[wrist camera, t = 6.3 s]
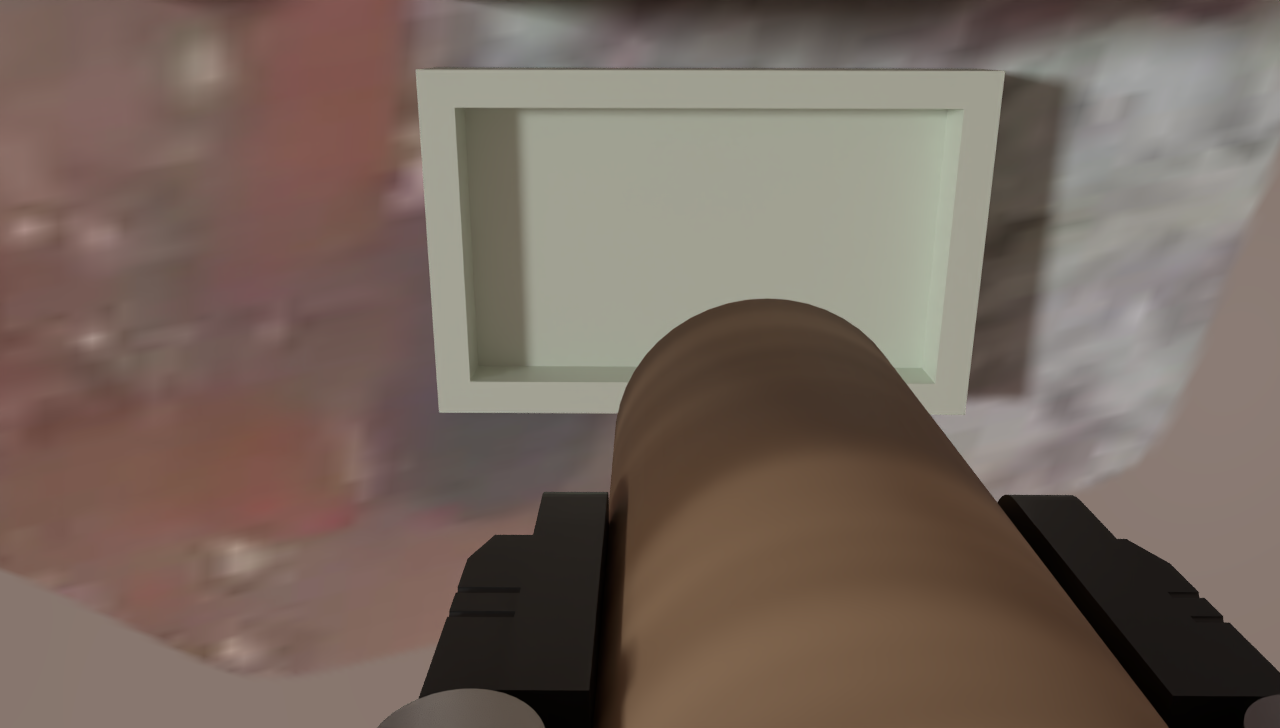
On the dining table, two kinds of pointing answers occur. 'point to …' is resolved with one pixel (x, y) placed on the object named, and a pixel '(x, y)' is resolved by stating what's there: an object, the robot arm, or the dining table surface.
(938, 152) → the sage tray
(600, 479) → the dining table surface
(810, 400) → the walnut pepper mill
